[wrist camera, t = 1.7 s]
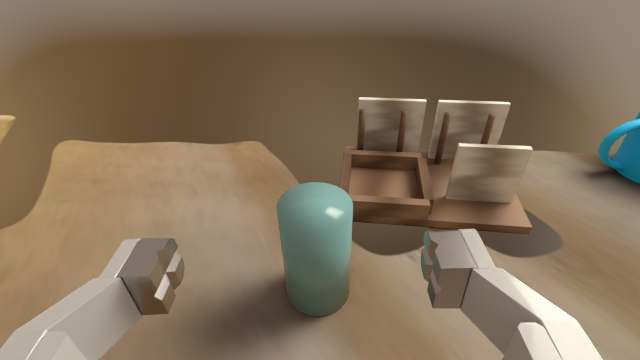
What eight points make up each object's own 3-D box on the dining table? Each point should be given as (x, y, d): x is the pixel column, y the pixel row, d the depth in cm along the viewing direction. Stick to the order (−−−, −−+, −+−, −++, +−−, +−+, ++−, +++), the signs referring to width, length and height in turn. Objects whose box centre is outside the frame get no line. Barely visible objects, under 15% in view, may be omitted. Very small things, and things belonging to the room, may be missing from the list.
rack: (337, 220, 39) (338, 151, 34) (345, 152, 50) (347, 92, 45) (529, 234, 37) (563, 162, 31) (493, 159, 48) (514, 97, 43)
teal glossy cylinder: (281, 313, 30) (268, 229, 24) (293, 261, 35) (285, 180, 29) (347, 319, 30) (350, 235, 24) (350, 266, 34) (354, 184, 28)
